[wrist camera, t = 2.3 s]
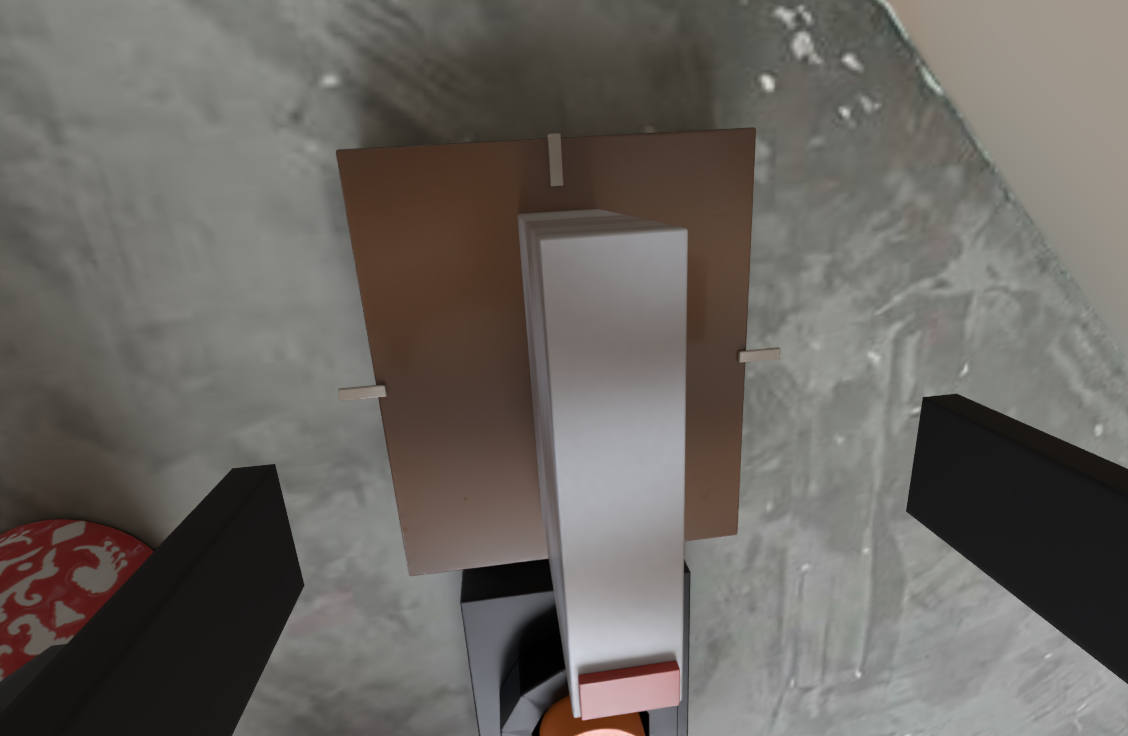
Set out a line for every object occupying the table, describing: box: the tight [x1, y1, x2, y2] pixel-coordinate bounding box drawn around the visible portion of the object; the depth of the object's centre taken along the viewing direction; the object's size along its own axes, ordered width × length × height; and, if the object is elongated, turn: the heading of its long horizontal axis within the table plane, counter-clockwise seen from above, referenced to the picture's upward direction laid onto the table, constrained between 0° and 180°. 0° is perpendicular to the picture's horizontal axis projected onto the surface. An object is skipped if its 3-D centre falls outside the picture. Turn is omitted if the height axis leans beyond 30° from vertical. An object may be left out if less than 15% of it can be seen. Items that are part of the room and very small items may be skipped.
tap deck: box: [336, 128, 780, 576], centre depth 19 cm, size 14×14×3 cm
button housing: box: [460, 559, 690, 736], centre depth 24 cm, size 11×9×4 cm
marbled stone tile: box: [518, 209, 688, 720], centre depth 14 cm, size 10×2×8 cm, turn 3°
